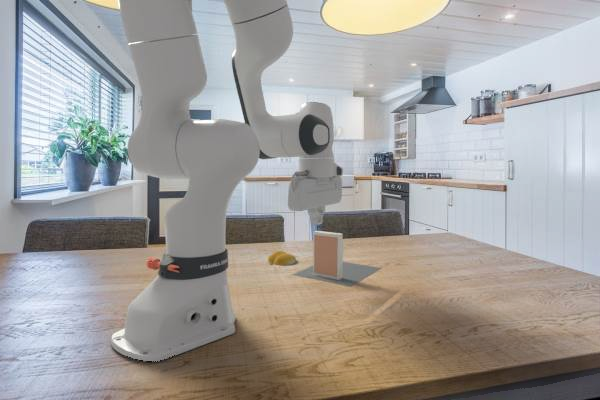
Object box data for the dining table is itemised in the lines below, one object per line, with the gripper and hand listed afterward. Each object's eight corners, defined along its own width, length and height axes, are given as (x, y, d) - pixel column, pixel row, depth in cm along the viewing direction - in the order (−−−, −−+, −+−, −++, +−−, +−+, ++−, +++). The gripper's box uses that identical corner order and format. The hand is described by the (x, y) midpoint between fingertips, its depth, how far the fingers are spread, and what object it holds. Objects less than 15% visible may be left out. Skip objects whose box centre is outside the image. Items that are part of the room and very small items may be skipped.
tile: (338, 280, 95) (338, 234, 94) (312, 275, 99) (312, 231, 98) (342, 277, 97) (342, 233, 96) (317, 273, 101) (317, 230, 100)
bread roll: (281, 269, 108) (281, 256, 108) (264, 263, 115) (264, 251, 115) (302, 264, 114) (302, 252, 113) (284, 259, 120) (284, 247, 120)
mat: (350, 289, 90) (350, 286, 90) (292, 277, 100) (292, 274, 100) (381, 270, 106) (381, 268, 106) (328, 261, 116) (328, 259, 116)
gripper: (303, 171, 80) (303, 232, 82) (346, 168, 97) (346, 219, 99) (280, 171, 84) (281, 230, 86) (326, 168, 101) (326, 217, 102)
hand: (316, 224), depth 92 cm, fingers closed
